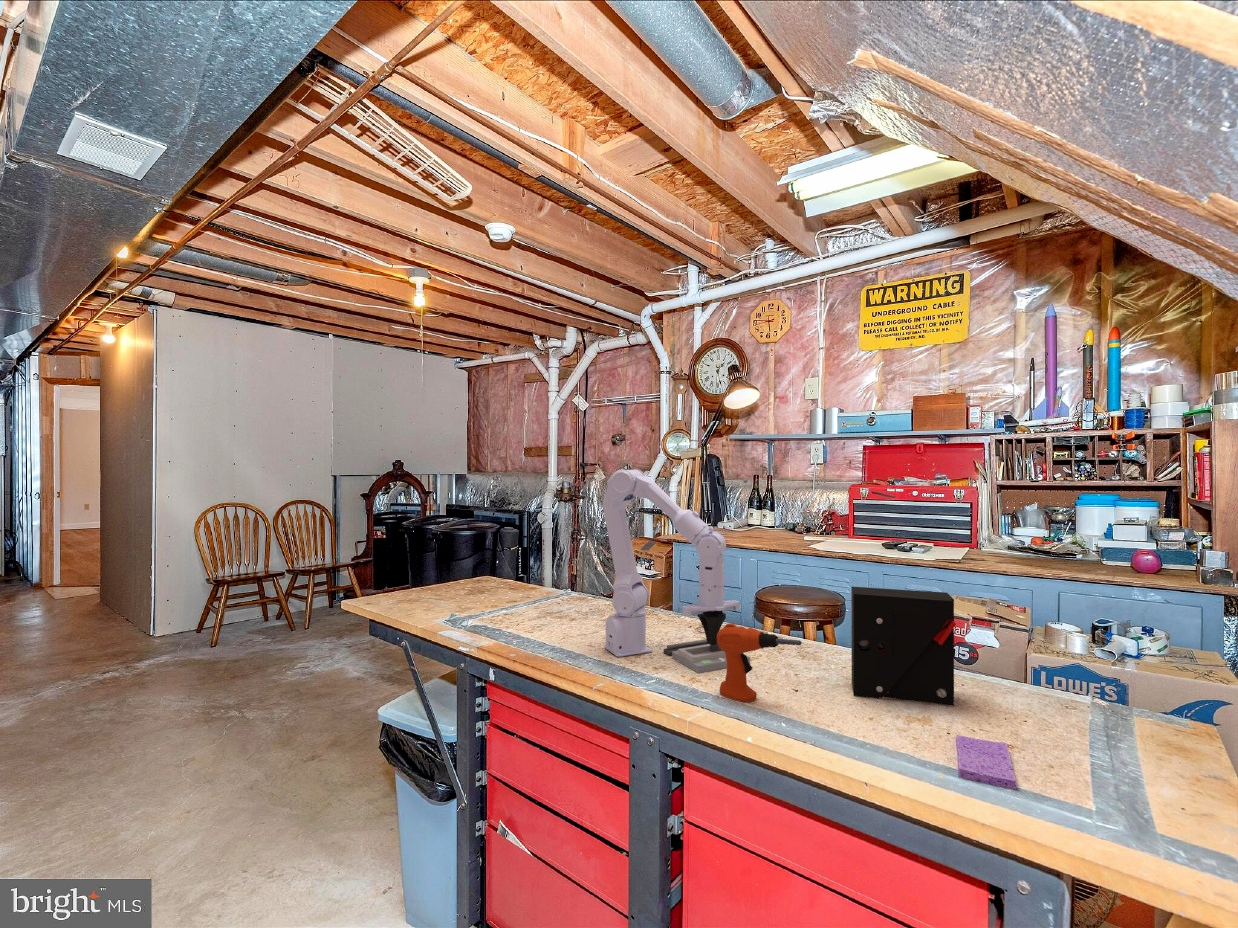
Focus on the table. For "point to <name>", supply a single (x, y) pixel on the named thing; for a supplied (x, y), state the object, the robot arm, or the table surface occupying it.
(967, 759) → the sponges
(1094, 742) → the table surface
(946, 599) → the electrical component
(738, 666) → the toy drill
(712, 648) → the breaker slider
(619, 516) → the robot arm
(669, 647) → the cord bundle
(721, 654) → the breaker panel
